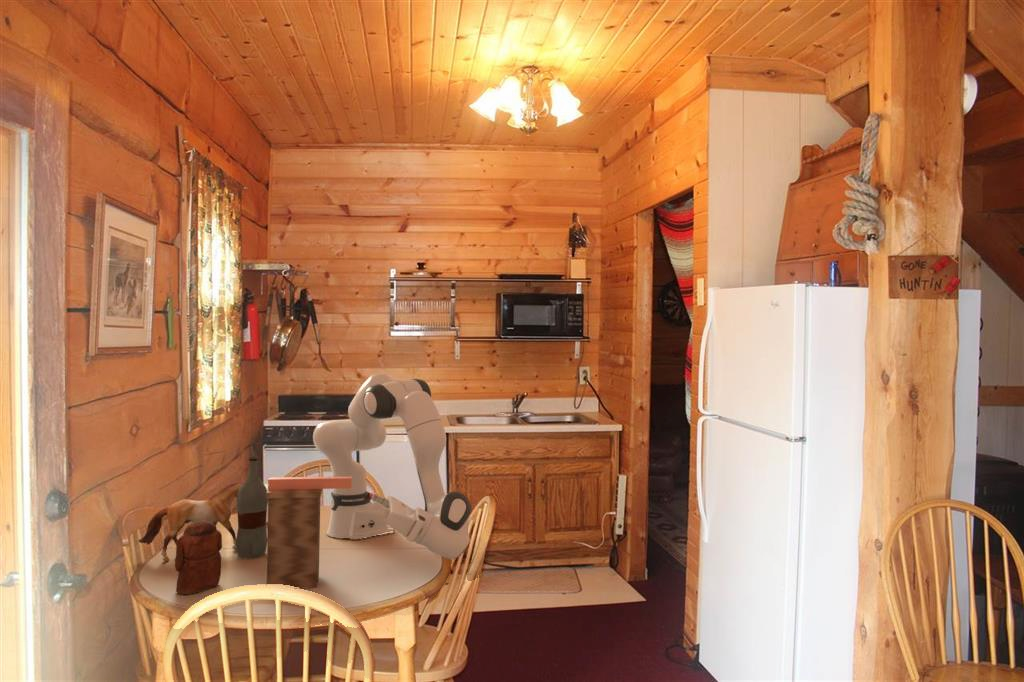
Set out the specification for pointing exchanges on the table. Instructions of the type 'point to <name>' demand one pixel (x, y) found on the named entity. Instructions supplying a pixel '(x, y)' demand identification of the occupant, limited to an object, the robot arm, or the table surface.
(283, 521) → the stand
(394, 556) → the table surface
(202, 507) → the horse figurine
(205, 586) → the wooden figurine
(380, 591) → the table surface
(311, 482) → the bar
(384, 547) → the table surface
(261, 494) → the bottle
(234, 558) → the table surface
